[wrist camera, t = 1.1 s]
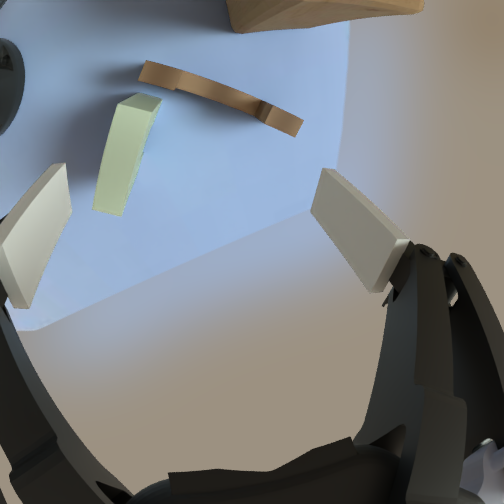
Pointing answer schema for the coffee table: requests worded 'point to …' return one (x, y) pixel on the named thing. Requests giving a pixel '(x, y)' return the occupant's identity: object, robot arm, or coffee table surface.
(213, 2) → the coffee table surface
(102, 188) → the pale green block
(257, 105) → the brown wooden bracket
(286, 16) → the wooden block
